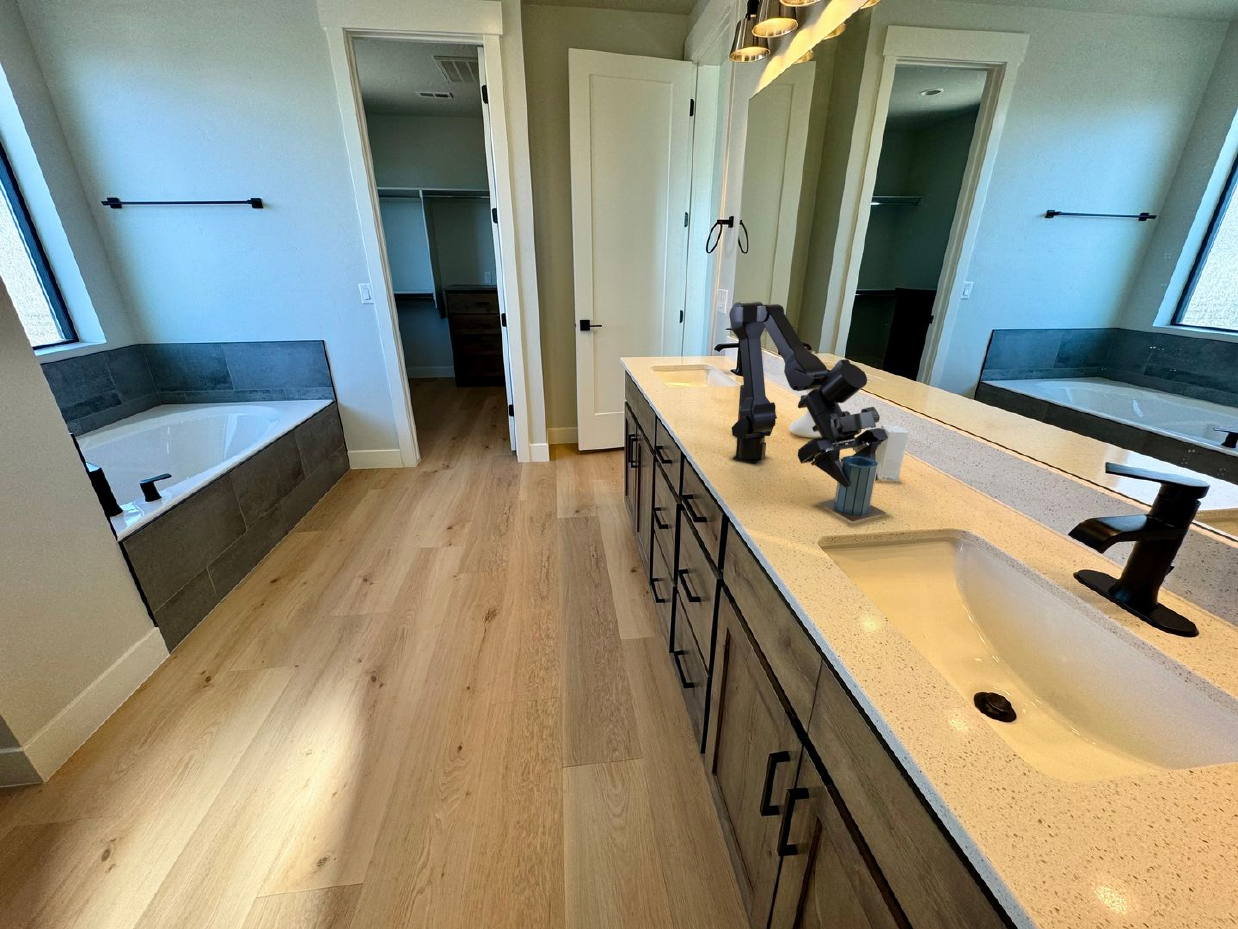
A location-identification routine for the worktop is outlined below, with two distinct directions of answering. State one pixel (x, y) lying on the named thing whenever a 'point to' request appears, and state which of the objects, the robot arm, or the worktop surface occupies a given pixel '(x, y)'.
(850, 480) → the blue slatted cup
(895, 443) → the cosmetic box
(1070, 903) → the worktop surface
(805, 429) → the flower in vase
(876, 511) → the walnut stand
